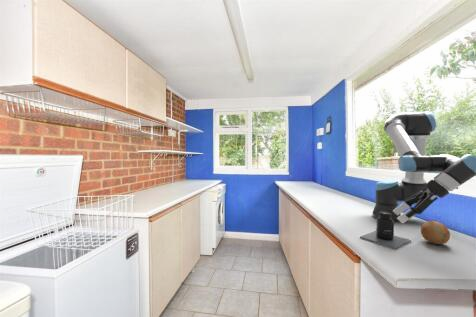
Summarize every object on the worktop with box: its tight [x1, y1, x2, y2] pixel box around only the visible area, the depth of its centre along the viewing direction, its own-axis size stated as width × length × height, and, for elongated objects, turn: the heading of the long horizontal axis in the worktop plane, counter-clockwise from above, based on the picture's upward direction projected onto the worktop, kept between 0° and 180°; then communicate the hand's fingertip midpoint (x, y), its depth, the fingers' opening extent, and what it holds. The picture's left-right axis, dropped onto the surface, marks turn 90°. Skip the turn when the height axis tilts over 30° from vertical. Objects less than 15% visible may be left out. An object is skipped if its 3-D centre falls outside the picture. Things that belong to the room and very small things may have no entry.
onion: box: [420, 220, 451, 245], centre depth 97 cm, size 10×10×10 cm
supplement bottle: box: [375, 211, 395, 241], centre depth 102 cm, size 7×7×12 cm
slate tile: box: [359, 230, 412, 250], centre depth 102 cm, size 15×15×1 cm
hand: (397, 216), depth 99 cm, fingers open, 13 cm apart
